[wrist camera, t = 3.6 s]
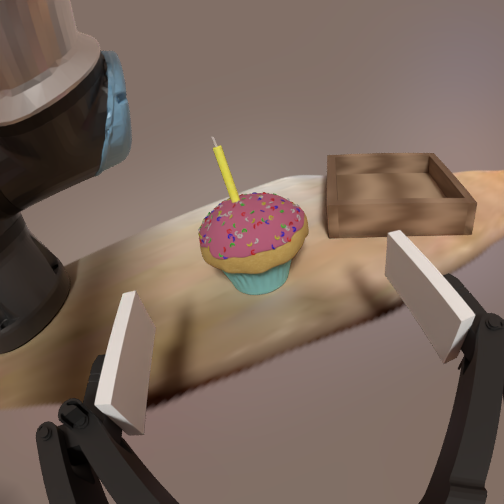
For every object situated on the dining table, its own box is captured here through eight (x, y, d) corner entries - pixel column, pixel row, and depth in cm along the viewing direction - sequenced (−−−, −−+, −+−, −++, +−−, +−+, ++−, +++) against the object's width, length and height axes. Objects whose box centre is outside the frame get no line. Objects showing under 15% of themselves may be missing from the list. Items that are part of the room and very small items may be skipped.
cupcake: (194, 287, 27) (148, 157, 20) (257, 239, 31) (231, 122, 25) (269, 328, 21) (230, 160, 15) (331, 263, 26) (319, 121, 19)
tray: (328, 238, 29) (326, 205, 27) (329, 179, 41) (327, 155, 39) (471, 234, 25) (477, 202, 23) (432, 177, 37) (433, 153, 35)
